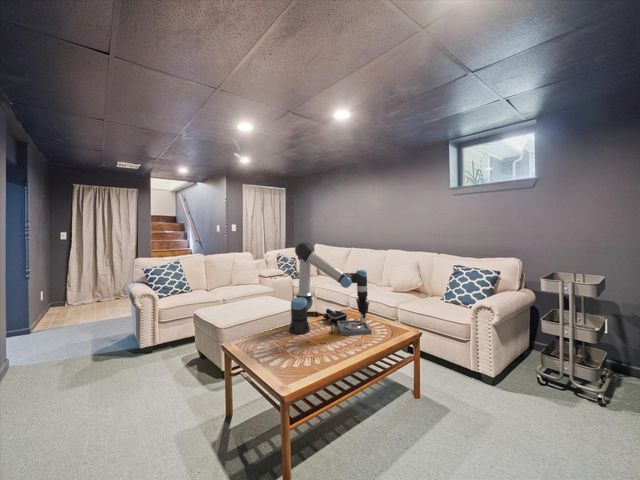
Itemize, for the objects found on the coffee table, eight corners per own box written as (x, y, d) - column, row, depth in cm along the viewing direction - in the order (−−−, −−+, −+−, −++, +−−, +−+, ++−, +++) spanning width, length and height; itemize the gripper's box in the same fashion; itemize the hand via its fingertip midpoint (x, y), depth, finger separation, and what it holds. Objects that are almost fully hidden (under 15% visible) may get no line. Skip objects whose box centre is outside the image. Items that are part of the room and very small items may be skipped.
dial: (356, 331, 208) (356, 322, 207) (341, 327, 216) (341, 319, 215) (365, 326, 218) (365, 317, 218) (351, 322, 226) (351, 314, 226)
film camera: (319, 320, 237) (332, 316, 247) (334, 327, 225) (347, 322, 235) (319, 311, 236) (333, 306, 246) (334, 317, 224) (347, 312, 234)
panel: (340, 334, 205) (340, 331, 205) (336, 324, 227) (336, 320, 227) (371, 333, 207) (371, 330, 206) (364, 323, 228) (364, 320, 228)
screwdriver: (332, 334, 206) (332, 331, 206) (330, 326, 222) (330, 323, 222) (336, 334, 206) (336, 330, 206) (334, 326, 222) (334, 323, 222)
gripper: (371, 291, 213) (373, 323, 214) (360, 288, 224) (361, 319, 225) (364, 293, 209) (365, 325, 210) (352, 290, 220) (354, 321, 221)
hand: (363, 322), depth 218 cm, fingers closed
